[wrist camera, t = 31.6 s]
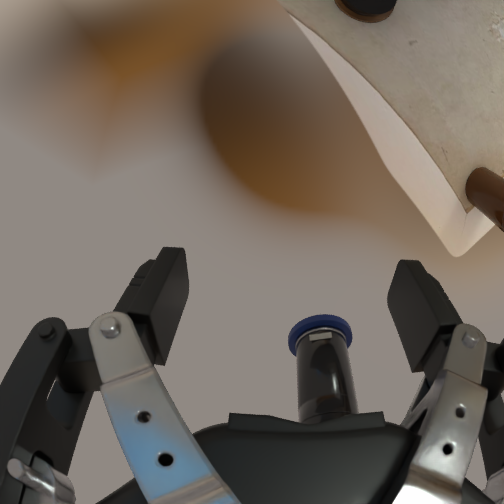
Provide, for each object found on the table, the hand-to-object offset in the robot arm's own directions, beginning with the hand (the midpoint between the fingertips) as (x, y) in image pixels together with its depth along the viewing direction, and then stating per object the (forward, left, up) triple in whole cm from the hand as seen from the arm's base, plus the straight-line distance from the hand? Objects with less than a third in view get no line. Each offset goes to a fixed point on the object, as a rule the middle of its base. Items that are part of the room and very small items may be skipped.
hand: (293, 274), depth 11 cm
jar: (-3, -32, -28) cm, 42 cm away
